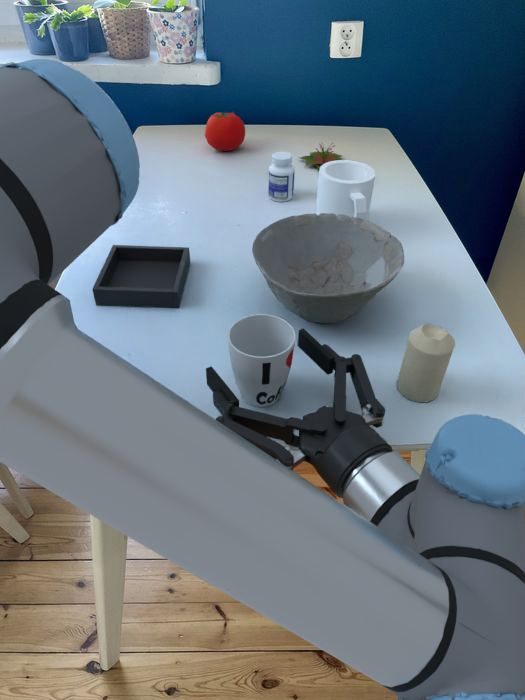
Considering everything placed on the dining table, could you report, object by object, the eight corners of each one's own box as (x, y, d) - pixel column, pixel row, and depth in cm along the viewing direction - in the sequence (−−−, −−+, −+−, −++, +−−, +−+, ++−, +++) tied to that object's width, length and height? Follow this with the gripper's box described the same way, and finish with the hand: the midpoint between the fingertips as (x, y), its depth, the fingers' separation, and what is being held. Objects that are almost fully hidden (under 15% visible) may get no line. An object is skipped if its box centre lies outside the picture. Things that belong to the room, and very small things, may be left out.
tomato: (252, 146, 134) (252, 110, 128) (228, 159, 127) (227, 123, 122) (221, 138, 137) (220, 103, 132) (197, 151, 131) (194, 115, 125)
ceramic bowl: (233, 335, 80) (232, 279, 73) (272, 255, 96) (274, 204, 89) (384, 364, 75) (397, 308, 69) (398, 275, 92) (409, 223, 85)
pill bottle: (279, 188, 116) (280, 147, 110) (298, 196, 114) (300, 154, 108) (263, 197, 113) (263, 155, 107) (282, 205, 111) (284, 162, 105)
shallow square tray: (95, 305, 84) (92, 289, 82) (115, 260, 94) (112, 244, 92) (179, 308, 84) (177, 292, 82) (190, 262, 94) (189, 247, 92)
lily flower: (288, 159, 128) (289, 140, 125) (328, 149, 133) (330, 130, 130) (319, 178, 120) (321, 158, 117) (360, 166, 125) (363, 147, 122)
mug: (383, 241, 100) (394, 187, 93) (333, 249, 98) (339, 194, 91) (353, 208, 110) (360, 157, 103) (306, 215, 108) (311, 163, 100)
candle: (441, 380, 73) (461, 323, 67) (434, 408, 69) (454, 350, 63) (402, 368, 75) (417, 311, 68) (392, 394, 71) (407, 337, 64)
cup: (257, 426, 67) (258, 367, 60) (217, 390, 71) (214, 332, 65) (303, 395, 71) (309, 337, 64) (263, 363, 75) (264, 305, 69)
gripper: (264, 556, 52) (169, 414, 65) (445, 446, 62) (331, 343, 75) (266, 514, 47) (162, 370, 60) (462, 402, 57) (337, 300, 70)
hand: (256, 355), depth 68 cm, fingers open, 13 cm apart
